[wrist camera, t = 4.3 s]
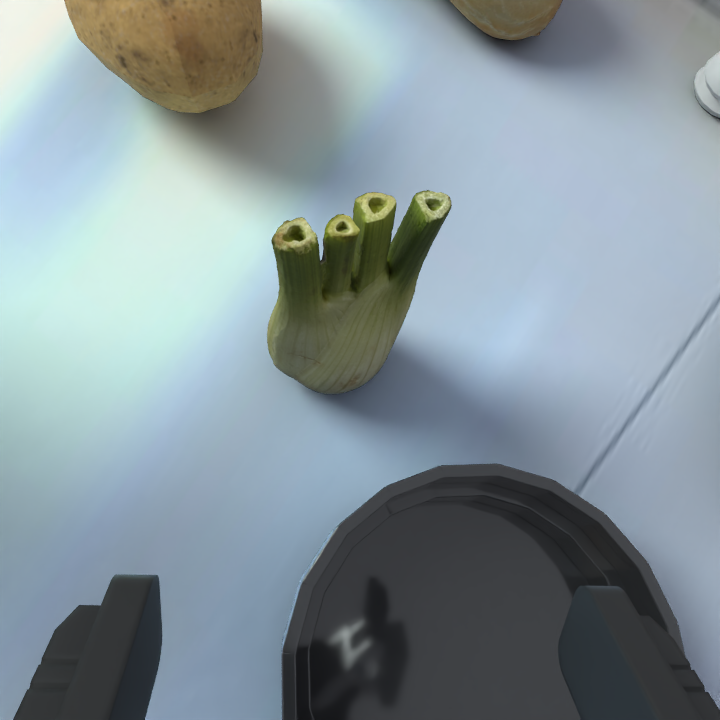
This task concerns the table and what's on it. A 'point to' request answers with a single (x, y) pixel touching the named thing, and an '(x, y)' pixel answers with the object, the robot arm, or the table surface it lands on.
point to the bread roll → (509, 16)
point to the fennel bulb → (348, 289)
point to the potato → (175, 47)
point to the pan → (453, 600)
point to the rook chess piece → (709, 86)
